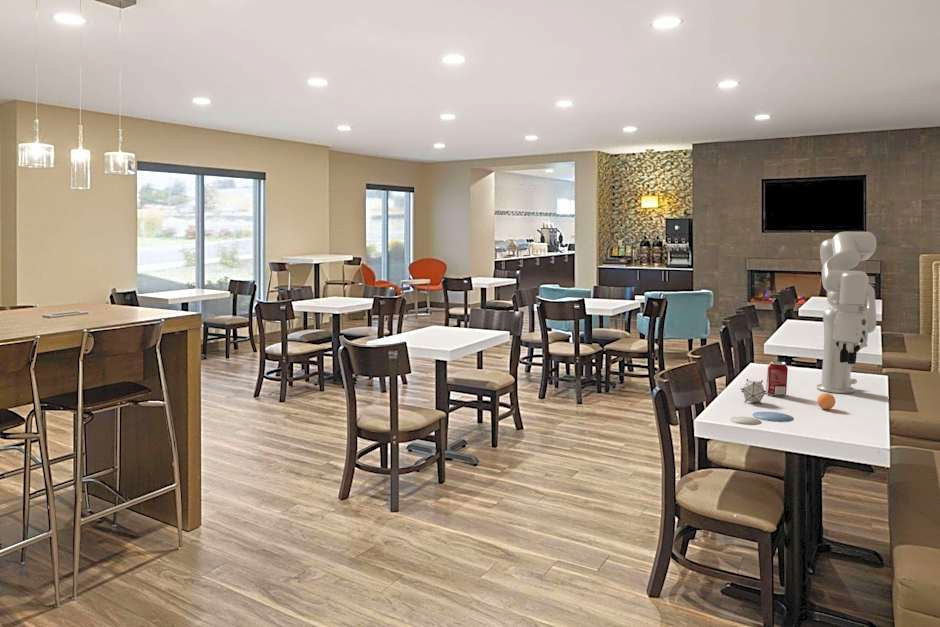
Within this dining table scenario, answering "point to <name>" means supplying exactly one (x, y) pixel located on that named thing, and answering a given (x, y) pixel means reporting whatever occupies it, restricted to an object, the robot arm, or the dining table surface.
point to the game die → (753, 391)
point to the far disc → (746, 420)
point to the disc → (773, 416)
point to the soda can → (776, 378)
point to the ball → (826, 401)
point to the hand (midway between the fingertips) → (847, 362)
